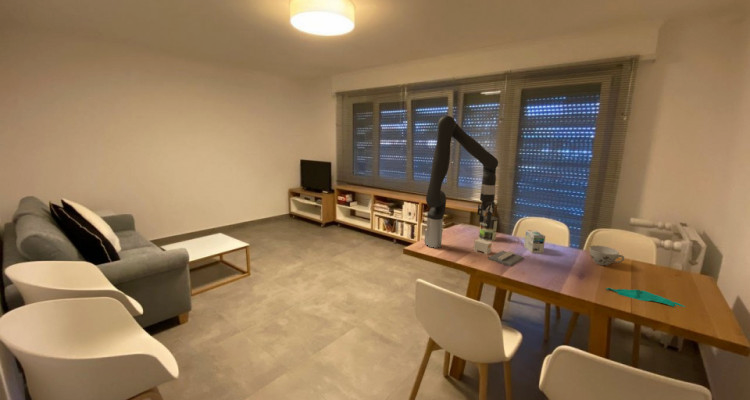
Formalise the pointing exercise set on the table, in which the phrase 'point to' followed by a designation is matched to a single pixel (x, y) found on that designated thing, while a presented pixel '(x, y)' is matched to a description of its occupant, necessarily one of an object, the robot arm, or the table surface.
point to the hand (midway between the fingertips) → (485, 221)
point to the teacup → (604, 255)
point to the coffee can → (488, 229)
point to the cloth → (644, 296)
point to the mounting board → (508, 261)
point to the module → (482, 246)
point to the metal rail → (505, 256)
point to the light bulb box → (534, 241)
